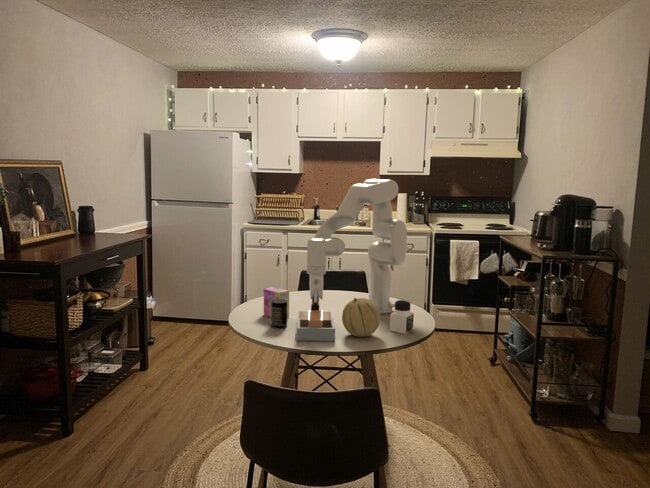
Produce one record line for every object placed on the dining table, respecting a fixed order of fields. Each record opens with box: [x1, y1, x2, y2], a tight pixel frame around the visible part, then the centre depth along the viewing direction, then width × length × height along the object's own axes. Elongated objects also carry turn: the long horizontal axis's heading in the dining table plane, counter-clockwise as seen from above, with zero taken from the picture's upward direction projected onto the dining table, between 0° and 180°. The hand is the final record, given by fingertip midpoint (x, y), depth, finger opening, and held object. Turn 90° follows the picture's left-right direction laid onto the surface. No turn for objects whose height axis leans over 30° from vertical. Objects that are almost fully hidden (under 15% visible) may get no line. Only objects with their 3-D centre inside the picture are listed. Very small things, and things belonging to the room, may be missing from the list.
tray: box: [296, 317, 336, 343], centre depth 188 cm, size 14×14×5 cm
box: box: [263, 286, 290, 319], centre depth 212 cm, size 10×6×12 cm, turn 47°
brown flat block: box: [298, 310, 333, 327], centre depth 201 cm, size 13×12×4 cm
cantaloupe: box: [341, 297, 382, 338], centre depth 189 cm, size 15×15×15 cm
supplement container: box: [270, 299, 288, 329], centre depth 198 cm, size 7×7×10 cm
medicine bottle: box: [389, 299, 415, 335], centre depth 197 cm, size 7×7×12 cm
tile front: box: [308, 316, 323, 328], centre depth 190 cm, size 6×6×3 cm
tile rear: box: [308, 309, 324, 316], centre depth 194 cm, size 6×6×3 cm
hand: (315, 314), depth 198 cm, fingers closed
